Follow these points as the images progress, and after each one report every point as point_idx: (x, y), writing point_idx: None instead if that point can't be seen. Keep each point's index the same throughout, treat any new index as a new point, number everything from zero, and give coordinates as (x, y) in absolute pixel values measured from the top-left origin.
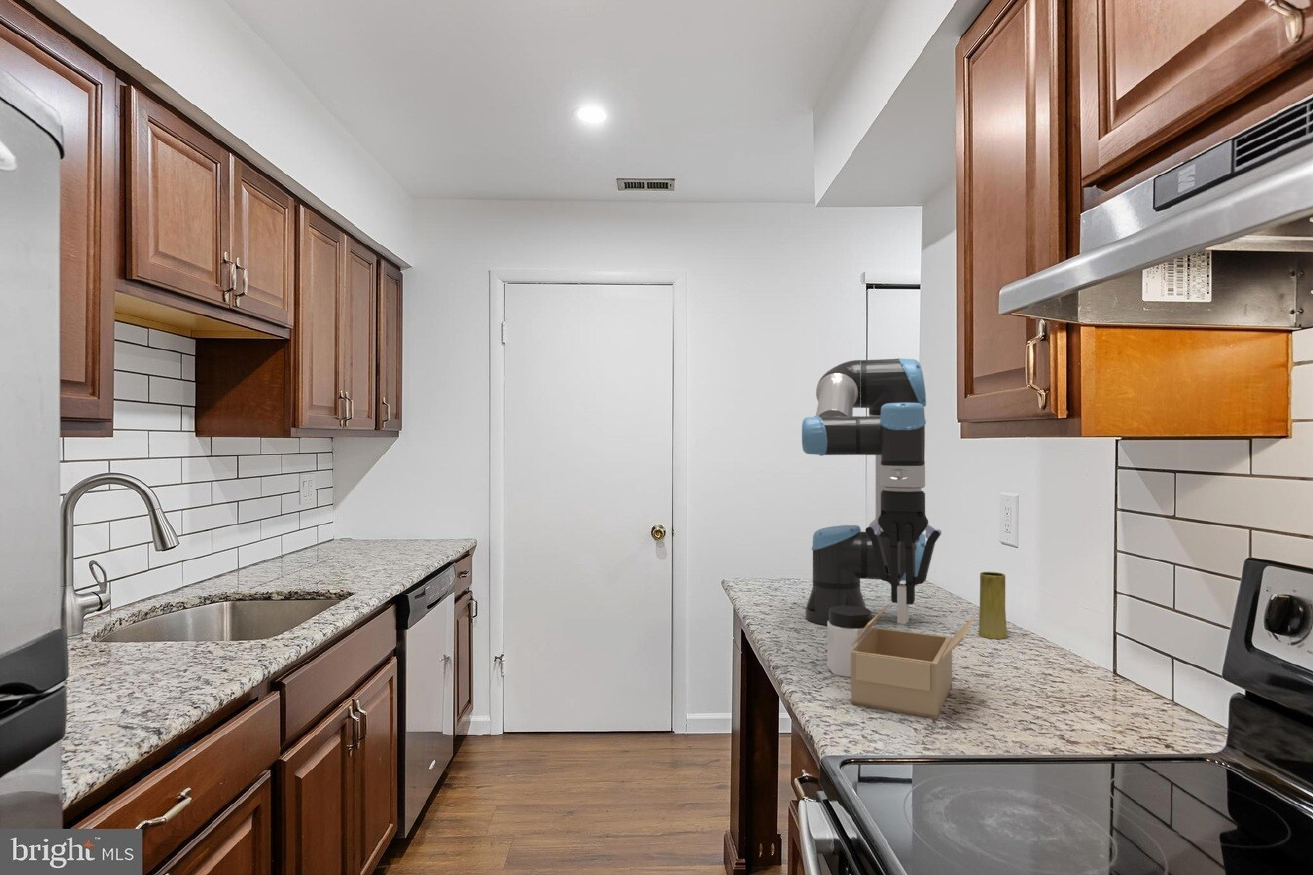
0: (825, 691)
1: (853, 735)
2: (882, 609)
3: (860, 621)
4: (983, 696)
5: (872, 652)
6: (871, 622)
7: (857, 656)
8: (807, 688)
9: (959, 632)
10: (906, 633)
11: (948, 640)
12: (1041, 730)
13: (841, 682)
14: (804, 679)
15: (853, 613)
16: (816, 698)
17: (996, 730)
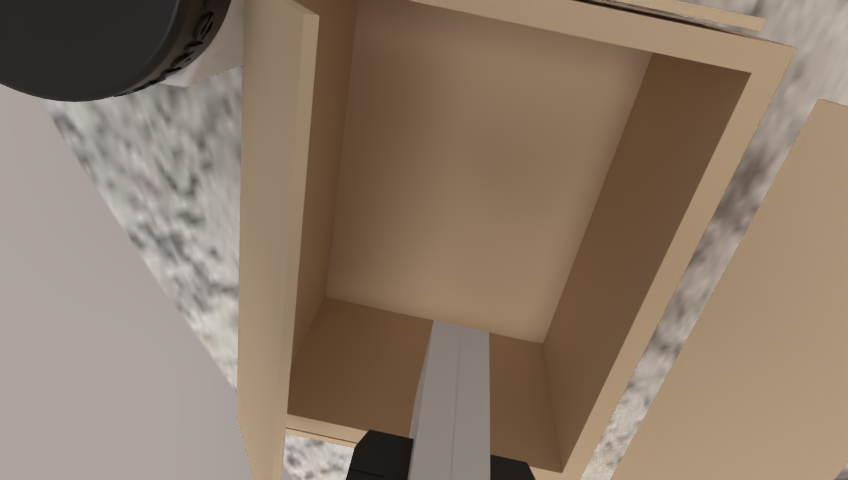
0: (217, 217)
1: (350, 461)
2: (291, 210)
3: (169, 75)
4: (777, 119)
5: (316, 112)
6: (280, 477)
7: None
8: (157, 205)
9: (803, 306)
10: (489, 17)
11: (739, 144)
12: None
13: (241, 111)
14: (112, 116)
15: (79, 43)
16: (211, 280)
17: None
